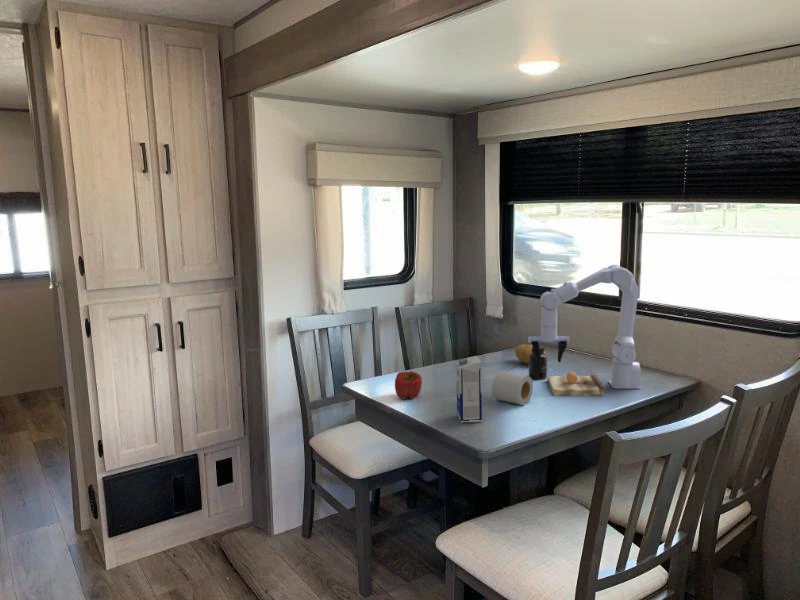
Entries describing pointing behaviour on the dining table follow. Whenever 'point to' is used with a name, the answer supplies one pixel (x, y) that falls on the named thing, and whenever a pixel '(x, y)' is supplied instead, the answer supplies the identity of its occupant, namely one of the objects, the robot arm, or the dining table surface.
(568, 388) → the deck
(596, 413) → the dining table surface
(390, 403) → the dining table surface
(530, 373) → the supplement bottle
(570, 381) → the ball
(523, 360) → the potato
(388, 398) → the dining table surface
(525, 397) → the toilet paper
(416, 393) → the vegetable
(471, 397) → the milk carton
